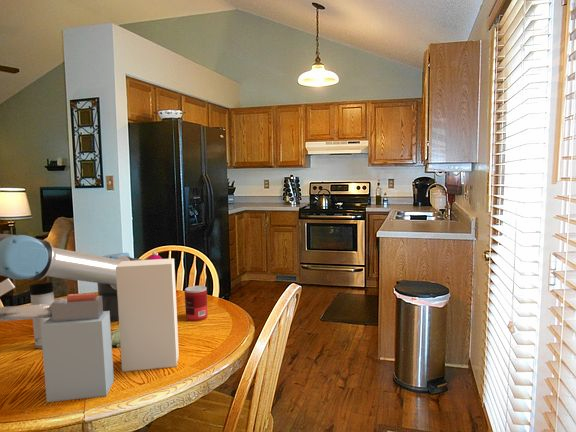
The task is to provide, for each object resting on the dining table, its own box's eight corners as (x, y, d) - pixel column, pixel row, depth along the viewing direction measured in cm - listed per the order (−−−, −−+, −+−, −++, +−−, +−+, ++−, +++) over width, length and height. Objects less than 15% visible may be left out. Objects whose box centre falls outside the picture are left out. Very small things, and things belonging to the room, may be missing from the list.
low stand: (58, 385, 109) (53, 314, 107) (113, 380, 111) (109, 310, 109) (46, 402, 101) (40, 325, 99) (106, 395, 103) (101, 321, 101)
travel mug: (34, 351, 132) (28, 285, 130) (35, 344, 137) (29, 281, 136) (58, 346, 134) (52, 282, 133) (58, 340, 140) (52, 278, 139)
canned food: (210, 314, 163) (209, 285, 162) (204, 321, 155) (202, 291, 154) (190, 314, 163) (188, 285, 162) (183, 321, 155) (181, 291, 155)
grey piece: (4, 320, 104) (2, 297, 103) (103, 313, 107) (101, 290, 107) (-5, 326, 99) (-7, 302, 99) (98, 318, 103) (97, 295, 102)
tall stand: (127, 359, 124) (121, 261, 121) (178, 354, 126) (174, 258, 124) (122, 371, 116) (115, 267, 113) (176, 366, 118) (171, 263, 116)
